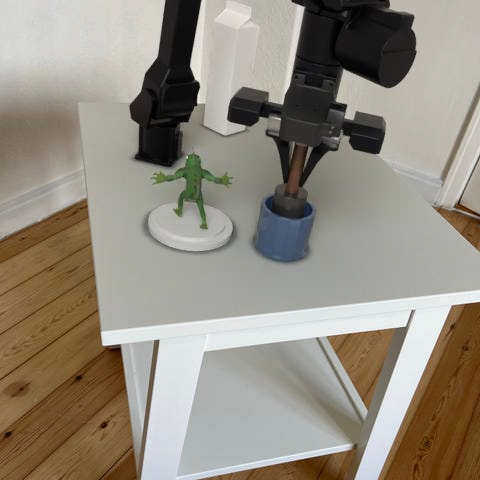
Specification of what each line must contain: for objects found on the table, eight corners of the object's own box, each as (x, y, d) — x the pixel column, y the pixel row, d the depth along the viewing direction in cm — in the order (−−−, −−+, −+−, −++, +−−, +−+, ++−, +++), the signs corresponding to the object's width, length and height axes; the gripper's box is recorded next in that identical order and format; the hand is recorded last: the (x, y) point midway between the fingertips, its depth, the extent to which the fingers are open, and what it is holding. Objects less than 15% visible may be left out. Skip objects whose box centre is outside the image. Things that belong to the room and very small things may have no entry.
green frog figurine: (225, 208, 85) (233, 144, 79) (238, 252, 76) (249, 183, 70) (146, 205, 83) (148, 138, 76) (150, 250, 74) (152, 179, 67)
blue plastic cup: (249, 254, 76) (256, 212, 72) (260, 228, 82) (267, 188, 78) (302, 266, 76) (312, 225, 72) (308, 239, 81) (318, 200, 77)
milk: (224, 136, 107) (240, 8, 93) (202, 125, 109) (214, -1, 95) (245, 130, 111) (263, 6, 96) (223, 119, 113) (237, -3, 99)
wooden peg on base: (267, 221, 74) (282, 146, 68) (273, 206, 78) (287, 133, 71) (299, 228, 74) (317, 154, 67) (303, 213, 77) (321, 141, 71)
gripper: (223, 58, 57) (208, 194, 67) (402, 96, 56) (359, 230, 66) (246, 35, 66) (230, 159, 76) (402, 68, 64) (364, 190, 74)
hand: (293, 184), depth 73 cm, fingers closed on wooden peg on base, 2 cm apart
